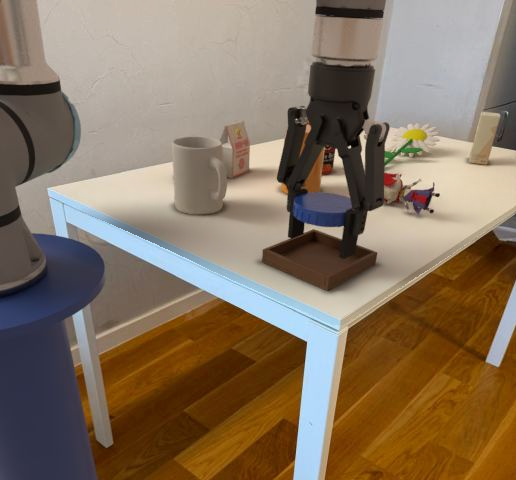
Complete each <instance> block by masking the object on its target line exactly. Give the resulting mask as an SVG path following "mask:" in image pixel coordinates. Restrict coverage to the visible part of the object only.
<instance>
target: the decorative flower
mask: <svg viewBox="0 0 516 480" xmlns="http://www.w3.org/2000/svg"><path fill="white" fill-rule="evenodd" d="M430 126H431V124H430V123H426V124H424V125H423V126H421V124H420V122H416V123H415V124H413V123H408V124H407V127H405V126H399V128H398V129H399V131H395V132H393V133H392V135H393V136H395V137H392V138H391V139H390V141H391V142H393V143H392V144H391V145H390V146H389V147H388V149H391V151H388V150H385V159H386V160H385V167H386V166H387V165H388V164H389V163H390V162H391V161H392V160H394V159H395V158H396V157H397V156H398V155H400V156H401V157H404V156H405V155H406V154H408V156H409V158H413V157H414V155H415V153H416V154H417V155H418V156H419V157H420V156H422V153H423V151H424V152H426V153H428V154H431V149H430V147H429V146H436V145H437V143H436V142H440V141H441V139H440V138H438V137H436V136H438V135H439V134H440V132H439V131H435V130H436V129H437V126H431V127H430ZM393 152H394V153H393Z"/></svg>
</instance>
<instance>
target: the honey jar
mask: <svg viewBox="0 0 516 480" xmlns="http://www.w3.org/2000/svg"><path fill="white" fill-rule="evenodd" d="M287 129H288V126H287V127H286V130H285V132H286V133H287ZM310 130H311V126H310V125H306V132H305V136H304V140H303V144H302V148H301V152H300V155H301V153H302V151H303V149H304V147H305V144H304V142H305V140H306V138H307V136H308V134H309V132H310ZM285 138H286V134H285V135H284V139H283V144H284V143H285ZM324 150H325V147H324V148H323V149H322V151H321V153H320V155H319V157H318V159H317V160H316V162H315V164H314V166H313V168H312V170H311V172H310V174H309V176H308V178H307V180H306V182H305V184H304V185H306V186H304V187H301V189H307V190H308V193H310V192H321V186H322V185H321V184H322V178H323V177H322V176H323V175H322V168H323V159H324ZM299 157H300V156H299ZM280 190H281V192H282V193H284V194H286V195H288V189H287V187H286V185H284V184H283V183H280Z"/></svg>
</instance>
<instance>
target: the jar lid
mask: <svg viewBox="0 0 516 480" xmlns="http://www.w3.org/2000/svg"><path fill="white" fill-rule="evenodd" d="M351 208H352V204H351V200H350V196H349V197H348V196H346V195H342V194H338V193H334V192H326V191H320V192H310V193H304V194H300V195H298V196H296V197H295V199H294V203H293V215H294V217H295V218H296V219H298V220H300V221H302V222H304V223H305V224H306V225H307V224H308V225H311V226H315V227H323V228H341V227H344V222H345V215H346V210H348V209H351Z"/></svg>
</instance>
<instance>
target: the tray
mask: <svg viewBox="0 0 516 480" xmlns="http://www.w3.org/2000/svg"><path fill="white" fill-rule="evenodd" d="M341 242H342V238H339V237H337V236H334V235H331V234H329V233H326V232H323V231H320V230H317V229H314V228H312V229H311V230H308V231H305V232H304V234H302V235H300V236H297V237H295V238H292V239H291V238H287V239H286V240H285V239H284V240H282V241H281V242H278V243H275V244H273V245H270V246H268V247H265V248H263V249H262V257H261V263H263V264H266V265H267V266H269V267H272V268H274V269H276V270H279V271H281V272H283V273H285V274H287V275H290V276H292V277H295V278H297V279H300V280H301V281H303V282H305V283H308V284H310V285H313V286H315V287H317V288H320V289H322V290H324V291H326V292H329V291H330V290H332V289H334V288H336V287H337V286H339V285H341V284H343V283H345V282H347V281H348V280H351V279H353V278H354V277H357V276H358V275H360V274H361V273H363V272H365V271H367V270H369V269H371V268H373V267H374V266H376V265H377V259H378V253H379V252H377V251H375V250H373V249H369V248H367V247H364V246H361V245H359V244H357V246H356V252H355V254H353V255H351V256H349V257H347V258H345V259H342V258H340V257H339V255H340V249H341Z"/></svg>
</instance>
